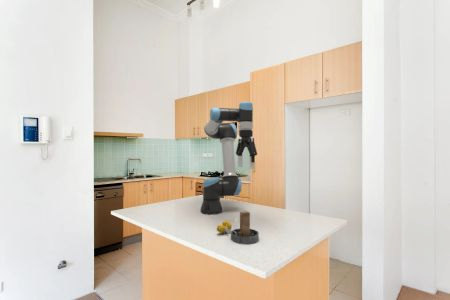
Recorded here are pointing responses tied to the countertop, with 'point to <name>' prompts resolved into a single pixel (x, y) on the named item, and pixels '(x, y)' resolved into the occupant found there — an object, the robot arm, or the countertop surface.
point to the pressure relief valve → (225, 227)
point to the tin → (245, 240)
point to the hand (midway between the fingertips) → (245, 167)
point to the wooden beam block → (245, 223)
